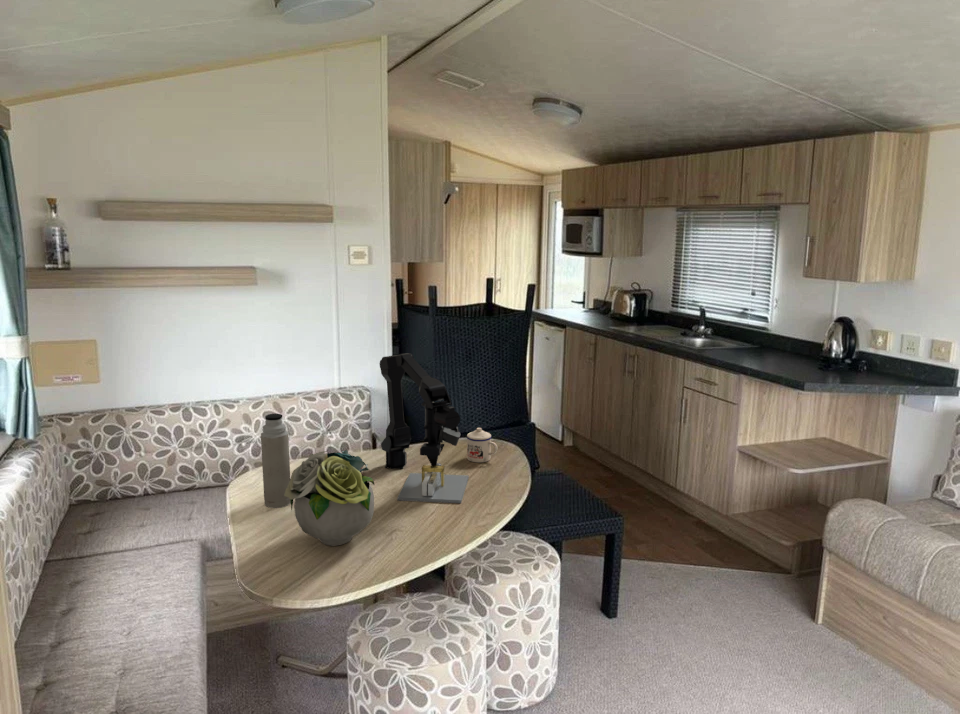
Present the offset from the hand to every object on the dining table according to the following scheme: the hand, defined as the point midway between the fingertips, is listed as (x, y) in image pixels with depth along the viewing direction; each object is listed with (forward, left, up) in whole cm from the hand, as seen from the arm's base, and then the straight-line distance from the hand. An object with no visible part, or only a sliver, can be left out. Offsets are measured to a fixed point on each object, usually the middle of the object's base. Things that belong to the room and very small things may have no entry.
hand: (434, 467), depth 225 cm
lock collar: (0, -2, -5) cm, 5 cm away
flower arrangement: (-21, -41, -7) cm, 46 cm away
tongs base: (0, -2, -6) cm, 7 cm away
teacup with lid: (+13, +27, -7) cm, 31 cm away
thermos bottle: (-46, -19, -7) cm, 50 cm away
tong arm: (+1, -3, -5) cm, 6 cm away
